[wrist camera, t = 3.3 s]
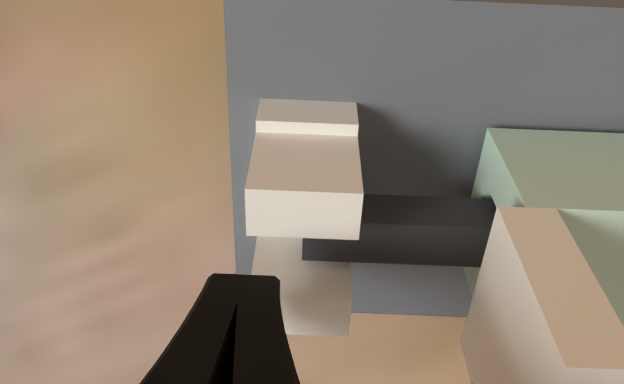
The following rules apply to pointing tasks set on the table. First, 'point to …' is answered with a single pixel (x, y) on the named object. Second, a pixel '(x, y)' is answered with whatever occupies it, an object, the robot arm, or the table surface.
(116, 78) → the table surface
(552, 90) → the board
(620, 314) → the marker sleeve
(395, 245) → the dark grey bar
